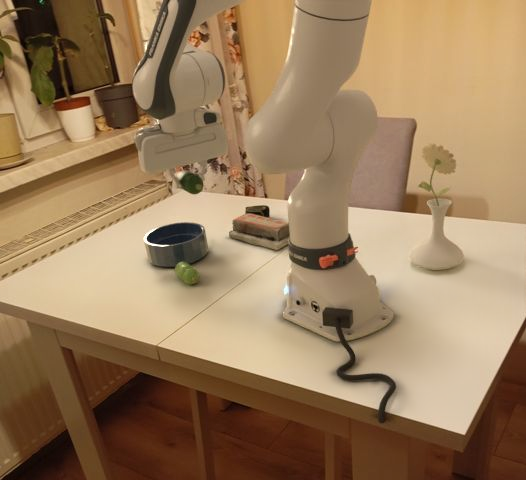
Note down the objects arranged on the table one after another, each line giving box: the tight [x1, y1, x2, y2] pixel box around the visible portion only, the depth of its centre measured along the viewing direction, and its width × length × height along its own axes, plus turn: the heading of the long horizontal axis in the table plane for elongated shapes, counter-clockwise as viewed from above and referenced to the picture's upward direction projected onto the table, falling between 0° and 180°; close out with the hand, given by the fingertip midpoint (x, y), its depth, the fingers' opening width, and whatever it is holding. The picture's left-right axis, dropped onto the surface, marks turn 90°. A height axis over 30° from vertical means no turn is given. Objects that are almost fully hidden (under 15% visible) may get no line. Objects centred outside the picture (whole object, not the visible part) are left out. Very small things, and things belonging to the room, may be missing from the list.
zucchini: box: [175, 169, 204, 195], centre depth 128 cm, size 10×4×4 cm, turn 30°
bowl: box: [143, 221, 209, 268], centre depth 143 cm, size 15×15×6 cm
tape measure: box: [244, 204, 271, 218], centre depth 158 cm, size 7×7×4 cm
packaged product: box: [228, 213, 290, 251], centre depth 147 cm, size 18×5×10 cm
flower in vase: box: [408, 143, 465, 271], centre depth 119 cm, size 13×11×25 cm
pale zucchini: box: [174, 262, 200, 285], centre depth 131 cm, size 9×4×4 cm, turn 30°
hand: (189, 184), depth 128 cm, fingers closed on zucchini, 4 cm apart
